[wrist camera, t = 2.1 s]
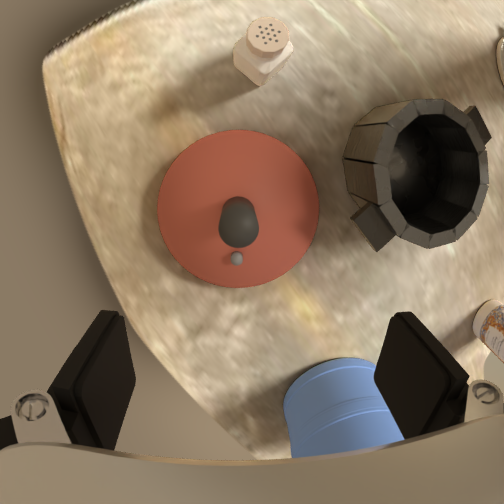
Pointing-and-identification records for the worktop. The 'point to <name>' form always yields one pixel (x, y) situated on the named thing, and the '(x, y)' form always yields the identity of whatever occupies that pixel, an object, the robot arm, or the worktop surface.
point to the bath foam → (491, 327)
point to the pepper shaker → (263, 50)
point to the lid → (238, 208)
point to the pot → (417, 172)
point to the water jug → (337, 410)
